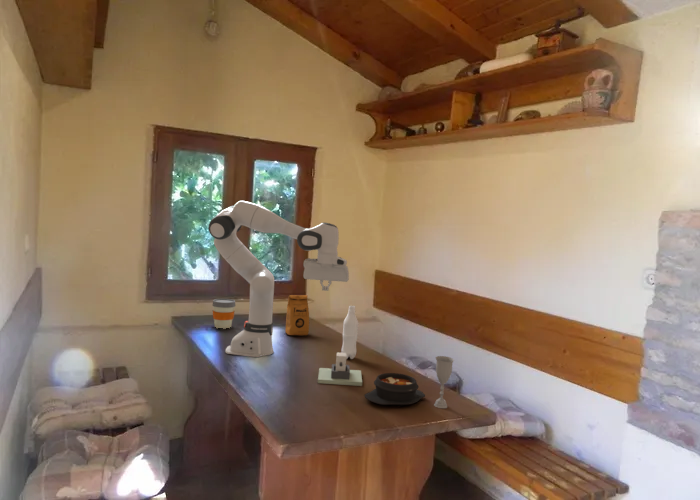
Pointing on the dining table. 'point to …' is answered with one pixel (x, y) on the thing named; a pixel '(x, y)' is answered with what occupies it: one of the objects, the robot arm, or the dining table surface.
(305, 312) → the coffee package
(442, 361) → the chalice
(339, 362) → the keyed plug
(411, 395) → the casserole
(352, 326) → the water bottle
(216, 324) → the reusable coffee cup
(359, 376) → the socket board
